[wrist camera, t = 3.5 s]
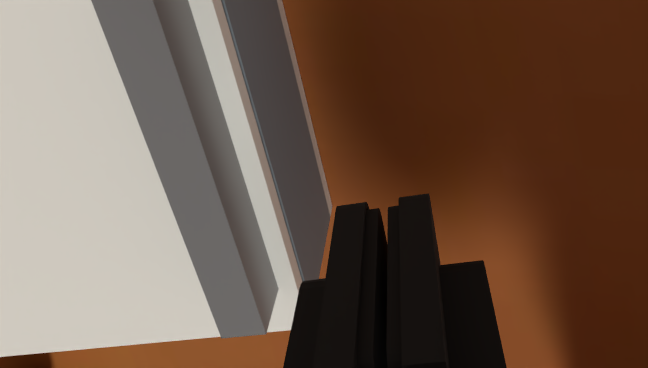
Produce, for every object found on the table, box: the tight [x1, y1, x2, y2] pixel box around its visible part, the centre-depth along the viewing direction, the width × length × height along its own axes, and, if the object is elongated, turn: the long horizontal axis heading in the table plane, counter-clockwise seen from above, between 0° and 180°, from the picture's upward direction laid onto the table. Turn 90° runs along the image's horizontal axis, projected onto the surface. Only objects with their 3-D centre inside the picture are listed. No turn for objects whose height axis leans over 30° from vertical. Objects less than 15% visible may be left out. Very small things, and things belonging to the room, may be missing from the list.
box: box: [221, 0, 332, 282], centre depth 26 cm, size 22×16×8 cm
